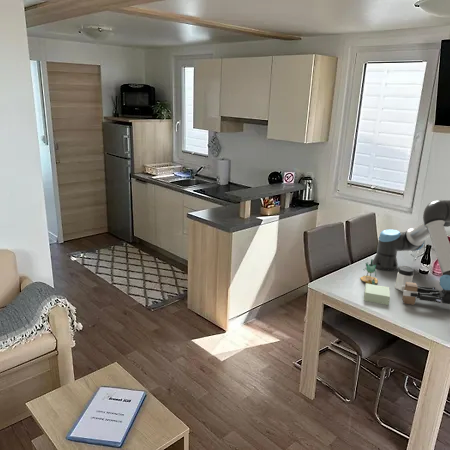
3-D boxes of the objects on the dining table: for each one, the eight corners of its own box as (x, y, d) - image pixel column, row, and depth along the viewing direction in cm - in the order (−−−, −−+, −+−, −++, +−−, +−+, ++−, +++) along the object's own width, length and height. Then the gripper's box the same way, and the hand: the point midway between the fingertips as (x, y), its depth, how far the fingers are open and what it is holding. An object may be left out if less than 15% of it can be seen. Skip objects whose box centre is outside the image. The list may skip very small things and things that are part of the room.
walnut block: (402, 298, 219) (405, 281, 216) (412, 300, 218) (415, 283, 215) (404, 303, 214) (407, 285, 211) (414, 304, 213) (417, 287, 210)
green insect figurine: (360, 287, 232) (363, 261, 229) (359, 277, 249) (362, 254, 246) (378, 289, 229) (381, 263, 226) (376, 280, 246) (379, 256, 243)
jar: (407, 285, 236) (411, 266, 232) (413, 291, 228) (417, 271, 224) (392, 284, 236) (395, 265, 232) (397, 291, 228) (401, 271, 224)
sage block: (364, 291, 227) (365, 283, 225) (387, 295, 223) (389, 287, 222) (364, 301, 216) (365, 292, 214) (388, 305, 212) (390, 296, 211)
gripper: (454, 311, 203) (404, 304, 208) (445, 295, 220) (398, 289, 224) (457, 298, 200) (406, 291, 205) (447, 282, 217) (400, 276, 222)
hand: (402, 290), depth 215 cm, fingers closed on walnut block, 5 cm apart
